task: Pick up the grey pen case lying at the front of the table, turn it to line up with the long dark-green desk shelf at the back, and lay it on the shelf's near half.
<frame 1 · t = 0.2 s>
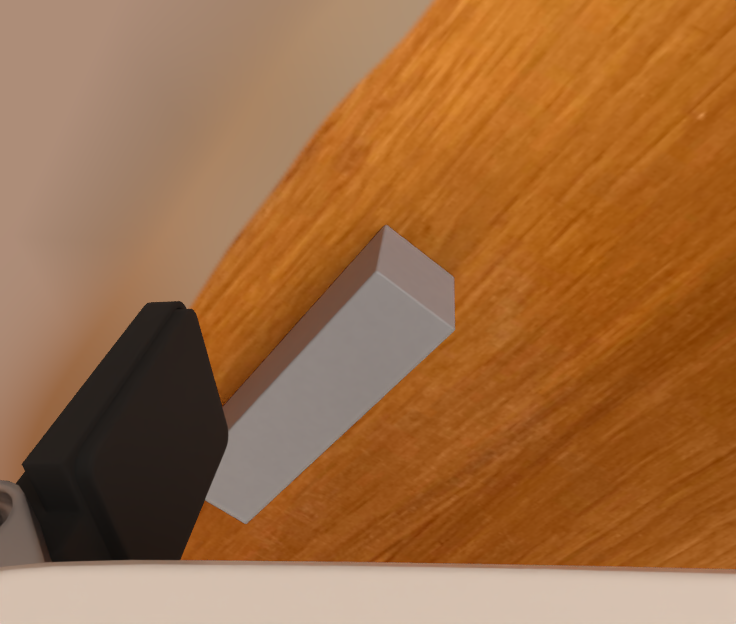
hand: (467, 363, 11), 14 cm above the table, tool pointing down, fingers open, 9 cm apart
pen case: (318, 357, 29), on the table
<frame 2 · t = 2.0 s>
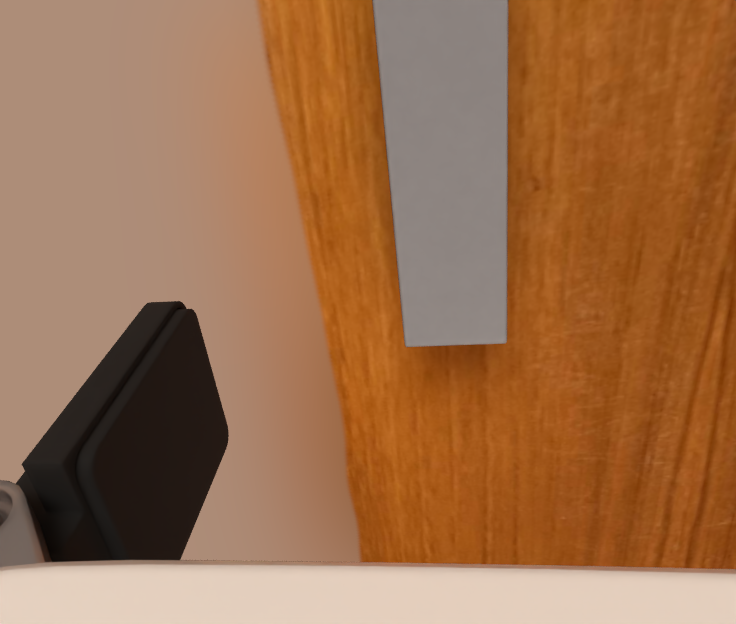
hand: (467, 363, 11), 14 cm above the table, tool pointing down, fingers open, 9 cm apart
pen case: (445, 117, 23), on the table
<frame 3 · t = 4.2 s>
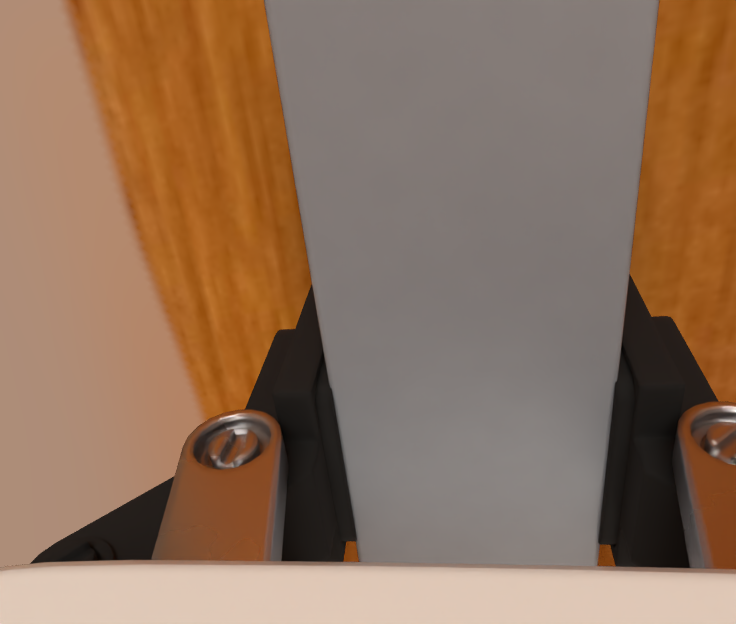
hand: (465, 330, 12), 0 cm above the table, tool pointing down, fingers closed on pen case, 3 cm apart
pen case: (465, 316, 12), on the table, touching gripper
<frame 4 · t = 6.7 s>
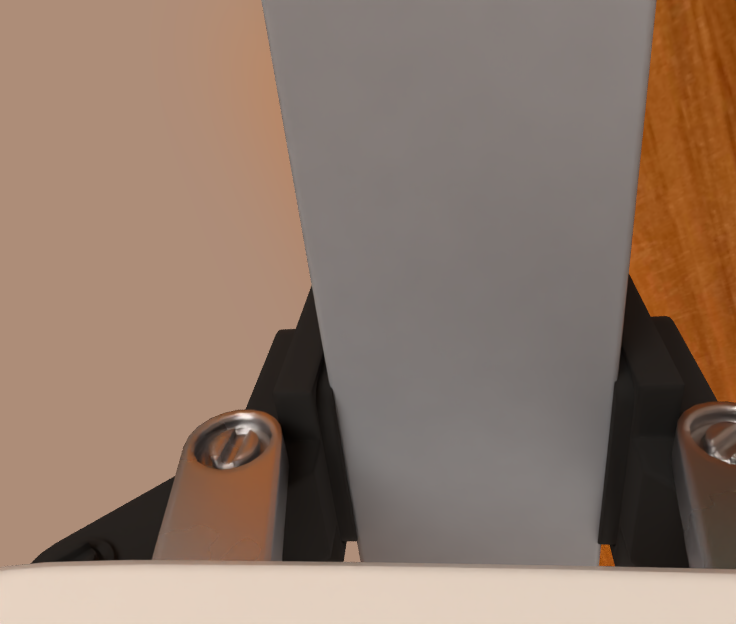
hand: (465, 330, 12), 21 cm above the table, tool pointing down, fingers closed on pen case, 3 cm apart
pen case: (465, 317, 12), point 21 cm above the table, touching gripper
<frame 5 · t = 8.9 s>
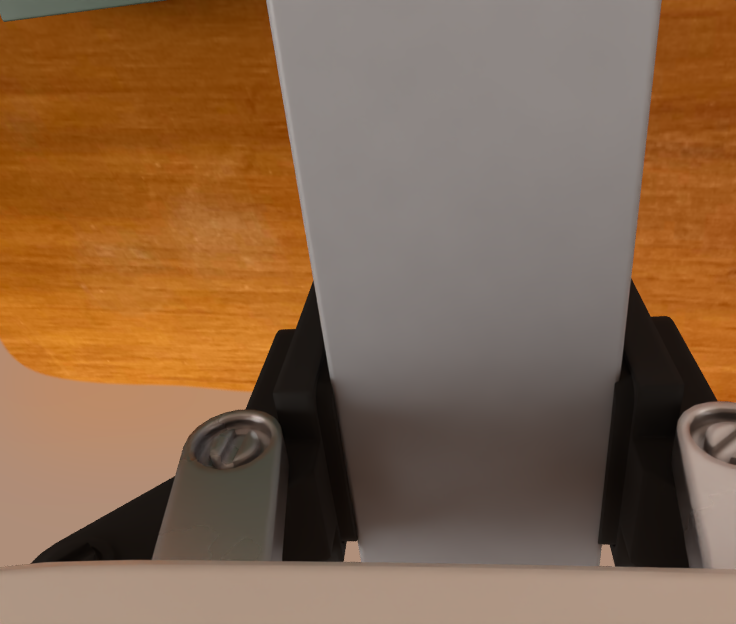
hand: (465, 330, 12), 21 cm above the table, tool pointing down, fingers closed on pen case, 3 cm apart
pen case: (466, 318, 12), point 21 cm above the table, touching gripper
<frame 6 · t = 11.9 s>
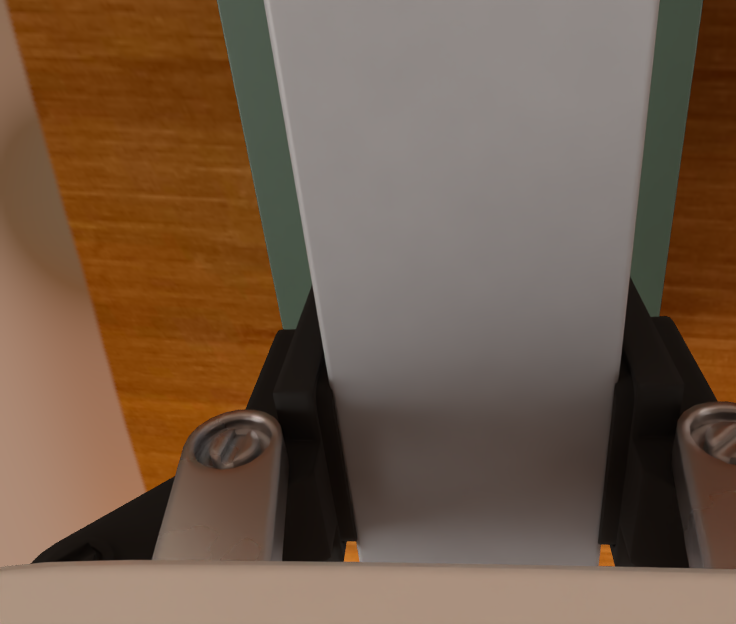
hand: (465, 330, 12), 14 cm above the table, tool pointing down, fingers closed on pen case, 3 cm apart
pen case: (465, 317, 12), point 13 cm above the table, touching gripper
when the fingers open (6 cm above the table, at t = 13.9 s): pen case stays where it is, resting on desk shelf.
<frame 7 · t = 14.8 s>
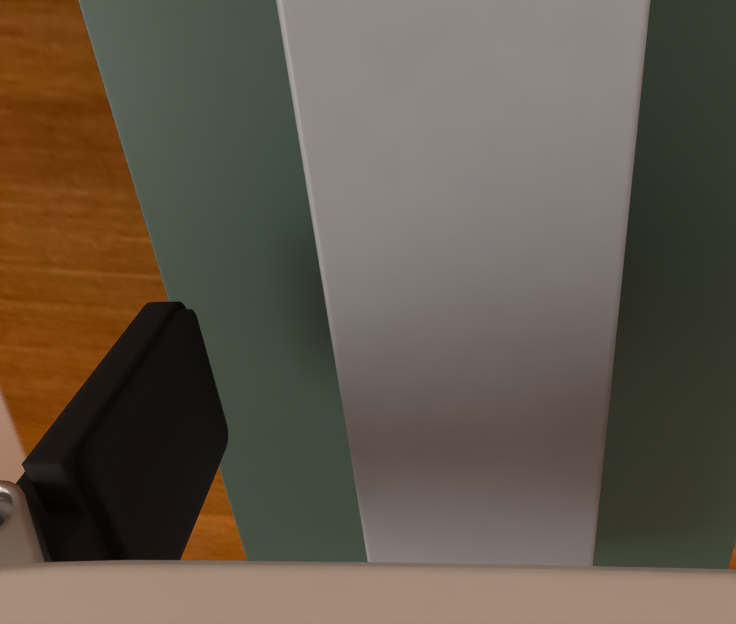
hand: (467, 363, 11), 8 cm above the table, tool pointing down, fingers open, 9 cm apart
pen case: (466, 301, 13), point 6 cm above the table, touching desk shelf
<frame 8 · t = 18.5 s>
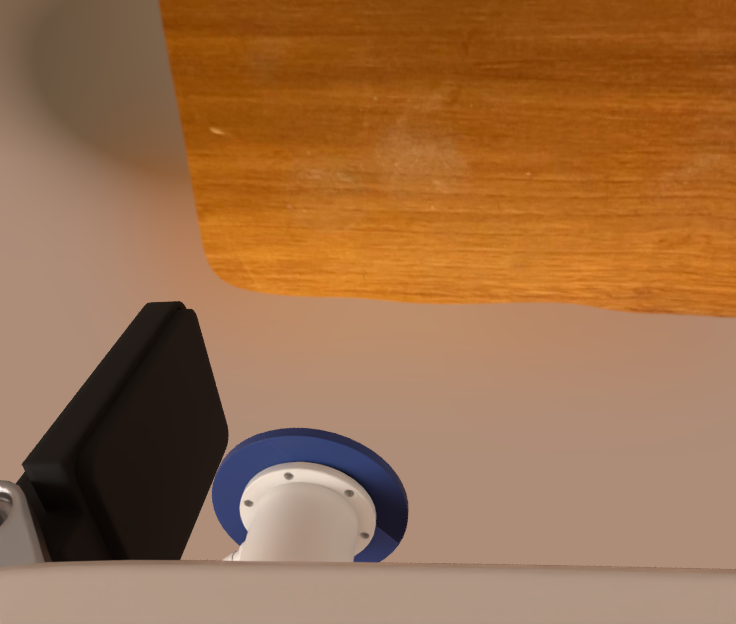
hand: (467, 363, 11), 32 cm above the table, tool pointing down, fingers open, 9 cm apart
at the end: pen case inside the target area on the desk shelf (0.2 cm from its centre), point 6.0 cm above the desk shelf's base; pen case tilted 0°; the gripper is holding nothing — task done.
